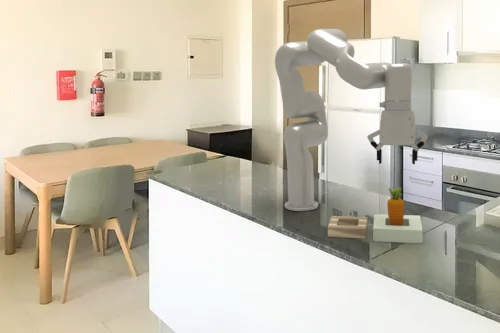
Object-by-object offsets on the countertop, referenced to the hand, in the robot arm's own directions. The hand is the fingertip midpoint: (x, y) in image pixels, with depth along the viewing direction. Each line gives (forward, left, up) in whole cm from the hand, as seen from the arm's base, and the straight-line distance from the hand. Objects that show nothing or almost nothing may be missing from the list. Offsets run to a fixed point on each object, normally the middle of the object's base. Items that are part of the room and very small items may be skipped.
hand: (396, 163), depth 154 cm
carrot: (+1, 0, -23) cm, 23 cm away
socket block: (0, -15, -22) cm, 27 cm away
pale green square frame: (+1, 0, -22) cm, 22 cm away
